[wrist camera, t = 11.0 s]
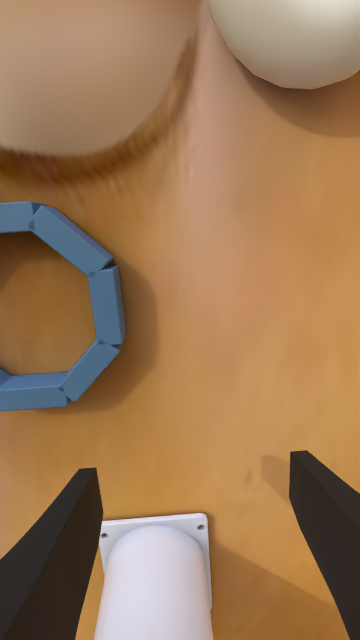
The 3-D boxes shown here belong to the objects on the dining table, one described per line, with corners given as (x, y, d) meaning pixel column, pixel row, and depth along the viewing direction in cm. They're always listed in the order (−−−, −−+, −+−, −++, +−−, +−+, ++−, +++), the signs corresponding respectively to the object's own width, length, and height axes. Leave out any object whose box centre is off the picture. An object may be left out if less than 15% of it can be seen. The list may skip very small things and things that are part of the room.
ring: (132, 386, 21) (129, 402, 19) (-45, 399, 21) (-67, 417, 19) (111, 199, 18) (104, 196, 16) (-98, 213, 18) (-130, 211, 16)
